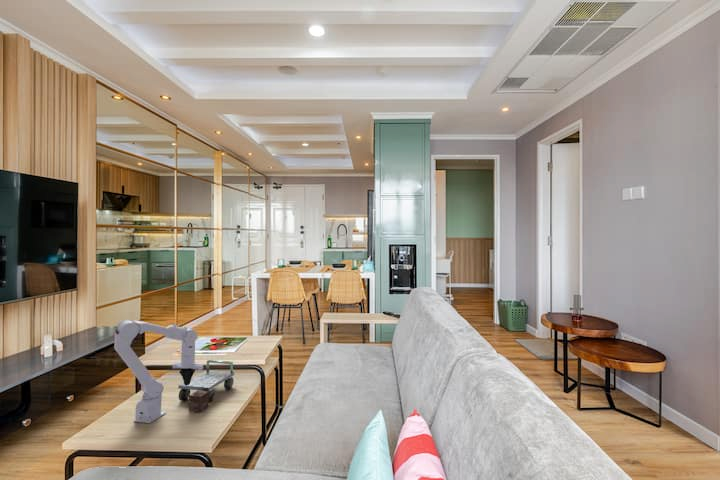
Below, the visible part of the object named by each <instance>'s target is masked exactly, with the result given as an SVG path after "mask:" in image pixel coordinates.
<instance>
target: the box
mask: <svg viewBox="0 0 720 480" xmlns="http://www.w3.org/2000/svg"><path fill="white" fill-rule="evenodd" d="M209 404H210V403H209V392H208V391H202V390H195V392H193V393H192V394H191V393H190V395H189V398H188V412H189V413H198V414H200V413H202V412H204V411H206V409H208V408H209V406H210V405H209Z"/></svg>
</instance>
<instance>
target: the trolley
mask: <svg viewBox="0 0 720 480" xmlns="http://www.w3.org/2000/svg"><path fill="white" fill-rule="evenodd" d="M210 363H213V364H222V365H223V364H225V365H230V368H229V369H230V370H229V371H226V370H224V371H223V370H213V369H210ZM233 376H235V371H234V362H233V361H229V360H228V361H226V360H225V361H224V360H213V359H211V360H210V359H209V360H208V359H207V360H206V370H205V371H202V372H200V373H198V374H197V375H195V376H192V378H191V382H190V384H189V385H184V382H181V383H180V384H178V388H177V389H180V390H179V393H178V400H179V401H182V402H186V401H188V400H189V395H191V390H193V391H208V392H209V404H210V403H212V402H213V400H214V398H215V391H214V388H216V387H218V386H219V385H221V384H222V383H223V388H224V389H225V390H231V389H232V388H233V385H234V377H233ZM185 400H186V401H185Z"/></svg>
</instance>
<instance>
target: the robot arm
mask: <svg viewBox="0 0 720 480" xmlns="http://www.w3.org/2000/svg"><path fill="white" fill-rule="evenodd" d="M146 332H149V333H153V334H154V333H155V334H161V335H164V338H166V339H171V340H177V341H181V349H180V350H181V351H180V352H181V353H180V362H175V363H173V364H172V369H180V370H179V374H180V376H181V378H182V381H183V383H184V385H189V384H190V382H191V378H193V377H194V376H193V375H194V374H195V371H196V370H197V371H202V370H204V365H203V364H200V363H199V364H198V363H196V358H195V357H196V341H197V339H198V334H197V331H196V330H194V329H192V328H189V327H186V326H184V327H183V326H182V327H181V326H178V325H177V324H169V325H168V326H162V325H159V324H154V323H150V322H146V321H142V320H141V321H140V320H130V319H124V320H121V321H119V323H118V324H117V325H116V327H115V329H114V344H113V345H114V347H113V348H114V350H115V352H116V353H117V354H118V355H119V357H120V358H121V360H123V362H124V363H125V364H126V366H127V367H128V368H129V370H130V371H131V372H132V373H133V375H134V376H135V377H136V379H137V380H138V382H139V383H140V385H141V390H142V391H143V394H142V397H141V399H140V401H138V402H137V403H136V405H135V415H134V416H135V417H134V418H135V419H133V422H136V423H137V422H138V423H144V424H145V423H146V424H151V423H153V422H154V421H156V420H157V419H159V418H161V417H163V416H164V415H165V414H166V413H167V411H162V399H163V397H162V396H163V395H162V394H163V391H164V385H163V384H162V383H161V382H160V381H158V379H157V378H156V377H154V376H153V375H152V374H151V373H150V371H149V370H148V368H147V367H146V366H145V365H144V363H143V361H141V359H140V358H139V356H138V355H137V354H136V352H134V350H133V348H132V347H131V344H132V343H133V340H134V339H135V338H136V337H137V335H138V334H139V335H141V334H143V333H146Z"/></svg>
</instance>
